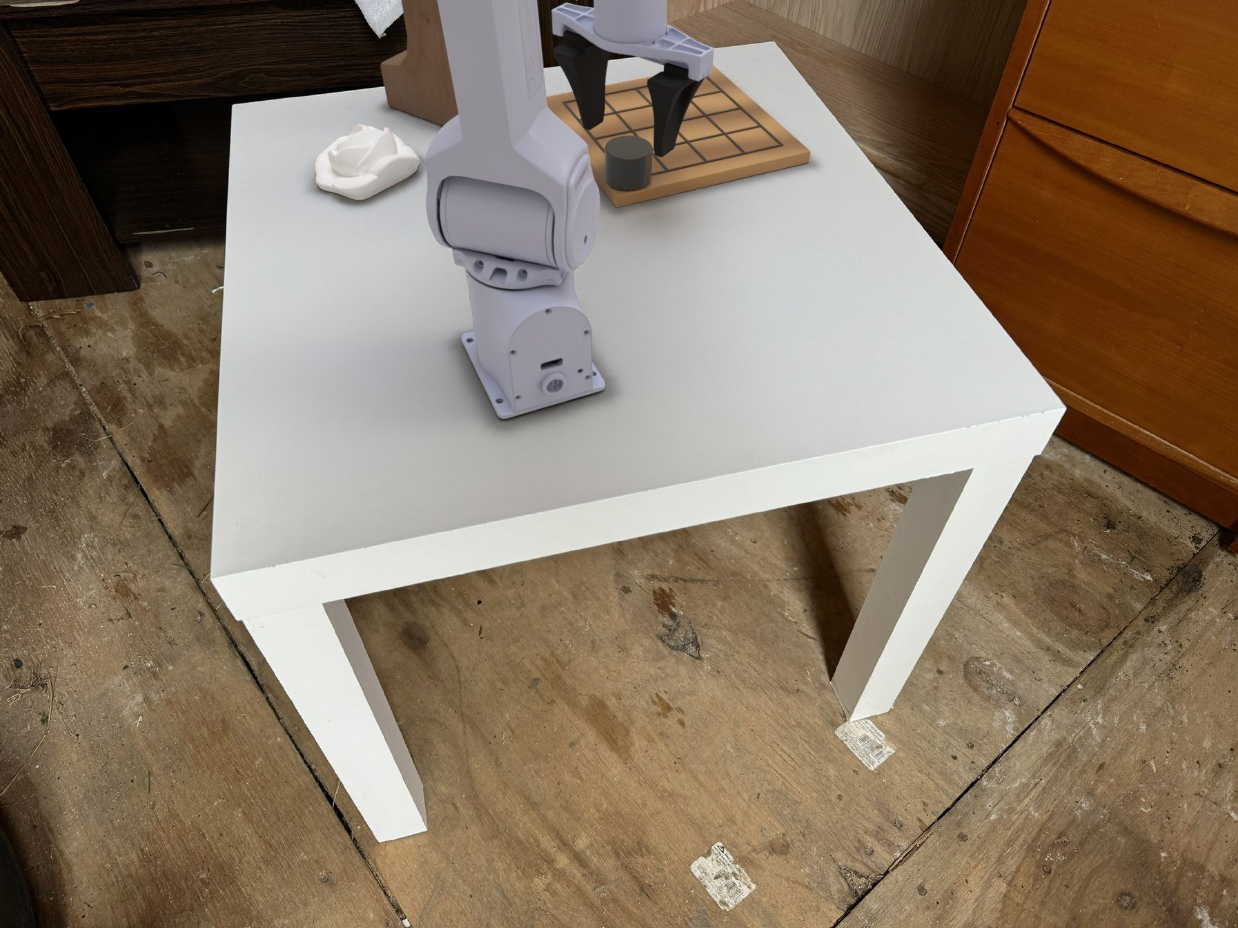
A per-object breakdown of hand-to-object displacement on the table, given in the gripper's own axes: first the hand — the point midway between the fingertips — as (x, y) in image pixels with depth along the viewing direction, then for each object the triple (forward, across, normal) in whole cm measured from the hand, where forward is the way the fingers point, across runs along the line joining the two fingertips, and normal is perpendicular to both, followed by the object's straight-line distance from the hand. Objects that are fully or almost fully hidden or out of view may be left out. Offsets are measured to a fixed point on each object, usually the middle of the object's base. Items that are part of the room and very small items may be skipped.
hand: (628, 138), depth 76 cm
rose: (+6, +21, +12) cm, 25 cm away
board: (+5, +3, -11) cm, 13 cm away
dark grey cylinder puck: (+4, 0, 0) cm, 4 cm away
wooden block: (+5, +25, -1) cm, 26 cm away
